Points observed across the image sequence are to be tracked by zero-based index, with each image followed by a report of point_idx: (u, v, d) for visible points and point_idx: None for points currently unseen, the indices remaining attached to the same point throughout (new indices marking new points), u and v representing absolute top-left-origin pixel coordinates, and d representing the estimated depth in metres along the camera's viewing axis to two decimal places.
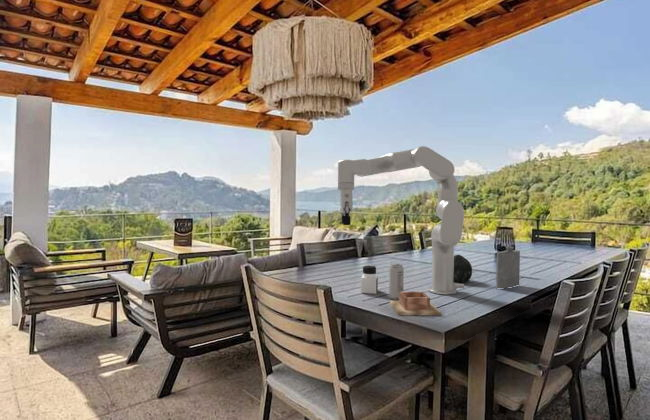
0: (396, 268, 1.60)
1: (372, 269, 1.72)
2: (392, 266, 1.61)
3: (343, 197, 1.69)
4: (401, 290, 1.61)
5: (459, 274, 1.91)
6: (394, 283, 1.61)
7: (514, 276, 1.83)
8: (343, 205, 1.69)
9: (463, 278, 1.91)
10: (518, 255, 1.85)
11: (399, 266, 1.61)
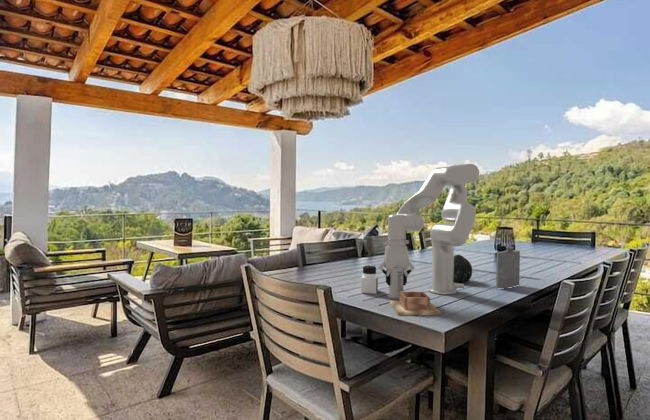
0: (396, 268, 1.60)
1: (372, 269, 1.72)
2: None
3: None
4: (401, 290, 1.61)
5: (459, 274, 1.91)
6: (394, 283, 1.61)
7: (514, 276, 1.83)
8: (408, 263, 1.61)
9: (463, 278, 1.91)
10: (518, 255, 1.85)
11: (399, 266, 1.61)
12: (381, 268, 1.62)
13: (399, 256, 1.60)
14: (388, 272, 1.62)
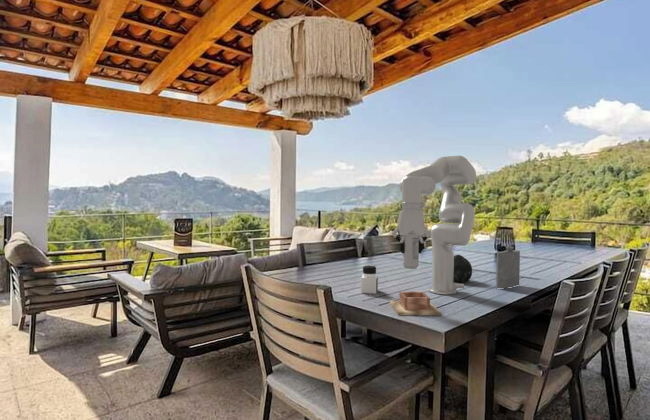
0: (410, 233, 1.47)
1: (372, 269, 1.72)
2: None
3: None
4: (416, 258, 1.48)
5: (459, 274, 1.91)
6: (408, 250, 1.48)
7: (514, 276, 1.83)
8: (424, 229, 1.48)
9: (463, 278, 1.91)
10: (518, 255, 1.85)
11: (414, 232, 1.48)
12: (394, 234, 1.50)
13: (414, 221, 1.47)
14: (402, 239, 1.49)
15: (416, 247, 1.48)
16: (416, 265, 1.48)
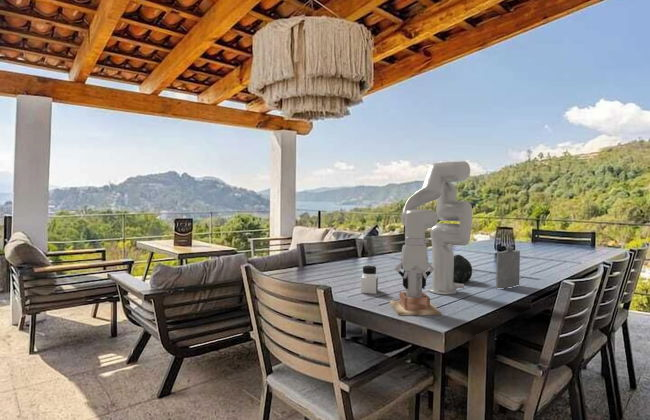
0: (414, 269, 1.45)
1: (372, 269, 1.72)
2: None
3: (427, 255, 1.46)
4: (420, 294, 1.46)
5: (459, 274, 1.91)
6: (412, 286, 1.45)
7: (514, 276, 1.83)
8: (428, 264, 1.46)
9: (463, 278, 1.91)
10: (518, 255, 1.85)
11: None
12: (398, 269, 1.47)
13: (418, 256, 1.45)
14: (405, 274, 1.47)
15: (420, 283, 1.46)
16: None
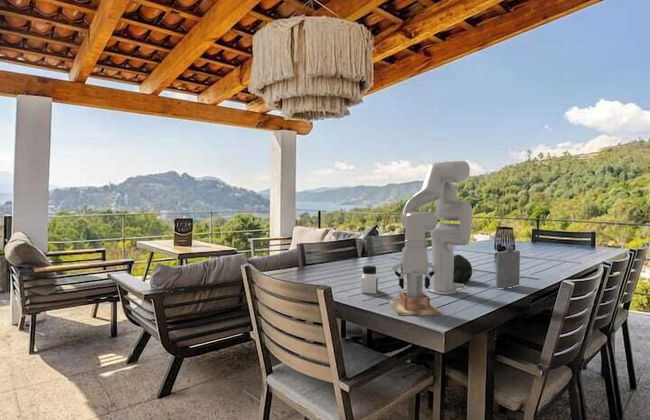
0: (414, 272, 1.46)
1: (372, 269, 1.72)
2: None
3: (427, 257, 1.46)
4: None
5: (459, 274, 1.91)
6: (412, 289, 1.46)
7: (514, 276, 1.83)
8: None
9: (463, 278, 1.91)
10: (518, 255, 1.85)
11: None
12: (395, 269, 1.47)
13: (418, 259, 1.45)
14: (402, 275, 1.47)
15: (420, 286, 1.46)
16: None
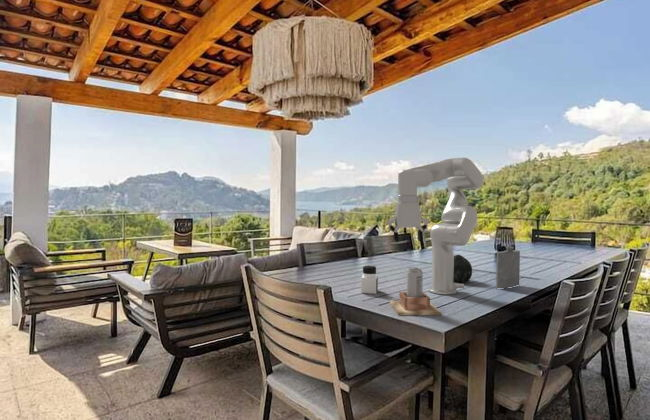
0: (414, 272, 1.45)
1: (372, 269, 1.72)
2: (410, 270, 1.47)
3: None
4: None
5: (459, 274, 1.91)
6: (412, 289, 1.46)
7: (514, 276, 1.83)
8: (420, 220, 1.55)
9: (463, 278, 1.91)
10: (518, 255, 1.85)
11: (418, 270, 1.46)
12: (390, 223, 1.55)
13: (411, 213, 1.54)
14: (397, 228, 1.55)
15: (420, 286, 1.46)
16: None
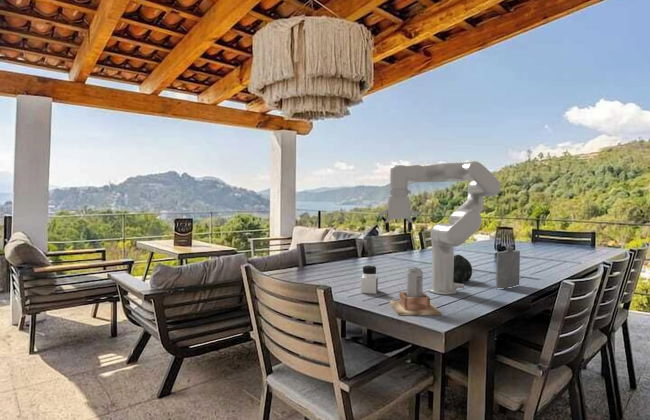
0: (414, 272, 1.46)
1: (372, 269, 1.72)
2: (410, 270, 1.47)
3: (409, 204, 1.67)
4: None
5: (459, 274, 1.91)
6: (412, 289, 1.46)
7: (514, 276, 1.83)
8: None
9: (463, 278, 1.91)
10: (518, 255, 1.85)
11: (418, 270, 1.46)
12: (381, 215, 1.68)
13: (401, 205, 1.66)
14: (388, 219, 1.67)
15: (420, 286, 1.46)
16: None
